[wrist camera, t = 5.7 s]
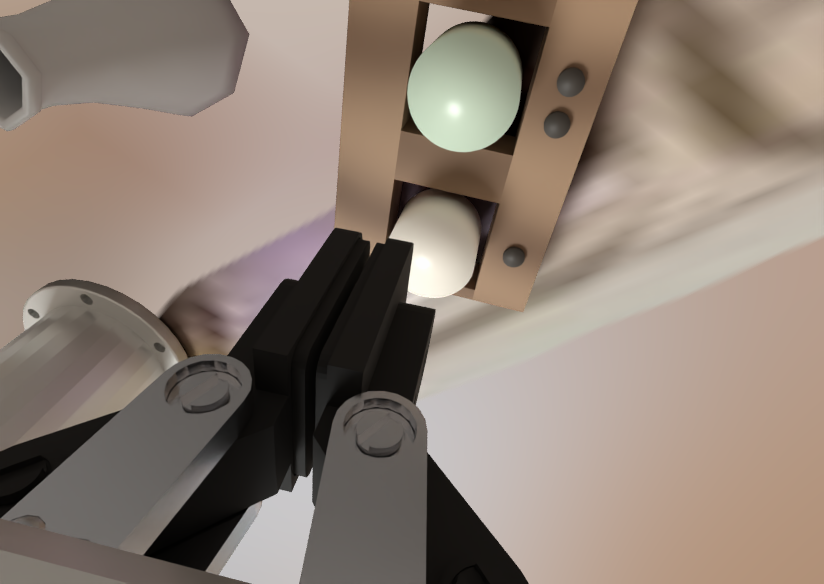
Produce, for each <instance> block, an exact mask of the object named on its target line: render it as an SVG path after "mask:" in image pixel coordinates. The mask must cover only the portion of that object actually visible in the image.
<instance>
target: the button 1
mask: <svg viewBox="0 0 824 584" xmlns="http://www.w3.org/2000/svg"><path fill="white" fill-rule="evenodd" d="M480 235H481V220H480V217H479V214H478V212H477V210H476V208H475V207H474V206H473V204H472V203H471V202H470V201H469V200H468V199H466V198H465V197H464V196H462V195H460V194H456V193H452V192H447V191H443V190H439V189H429V190H425V191H422V192H420V193H418V194H416V195H415V196H414V197H412V198H411V199H410V200H409V201H408V203H407V204H406V205H405V207H404V209H403V211H402V213H401V215H400V217H399V219H398V221H397V223H396V225H395V227H394V229H393V231H392V233H391V235H390V237H389V238H392V239H397V240H402V241H407V242H412V243H414V247H413V256H412V263H411V270H410V277H409V284H408V291H409V292H411V293H413V294H416V295H419V296H422V297H428V298H440V297H446V296H449V295H452V294H454V293H456V292H458V291H459V290H461V289H462V288H463V287H464V286H465V285H466V284H467V283H468V282H469V280H470V278H471V277H472V274H473V271H474V266H475V261H476V256H477V251H478V246H479V241H480Z"/></svg>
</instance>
